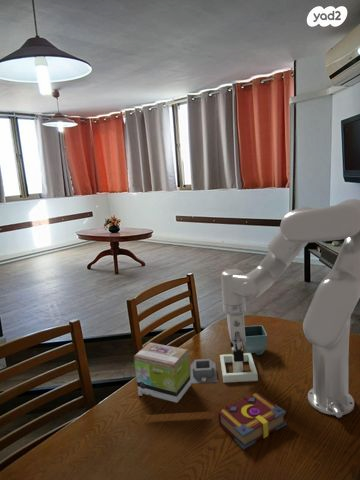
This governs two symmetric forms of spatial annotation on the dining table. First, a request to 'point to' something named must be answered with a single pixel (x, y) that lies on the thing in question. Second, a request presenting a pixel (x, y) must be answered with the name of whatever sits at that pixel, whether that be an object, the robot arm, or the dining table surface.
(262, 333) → the flower pot
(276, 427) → the decorative book
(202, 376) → the block
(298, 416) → the dining table surface
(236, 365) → the cylinder
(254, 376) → the parts tray
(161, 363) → the tea box
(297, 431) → the dining table surface
